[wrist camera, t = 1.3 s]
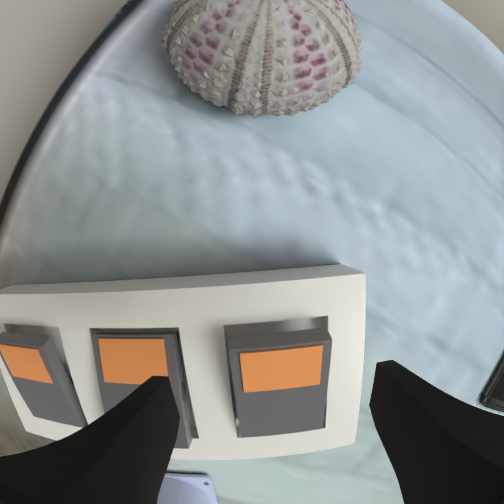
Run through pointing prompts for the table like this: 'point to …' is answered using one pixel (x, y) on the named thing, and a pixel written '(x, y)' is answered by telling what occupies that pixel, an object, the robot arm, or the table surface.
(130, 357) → the rocker middle
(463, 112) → the table surface
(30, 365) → the rocker
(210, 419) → the rocker switch panel
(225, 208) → the table surface
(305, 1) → the sea urchin shell
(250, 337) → the rocker
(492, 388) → the phone
